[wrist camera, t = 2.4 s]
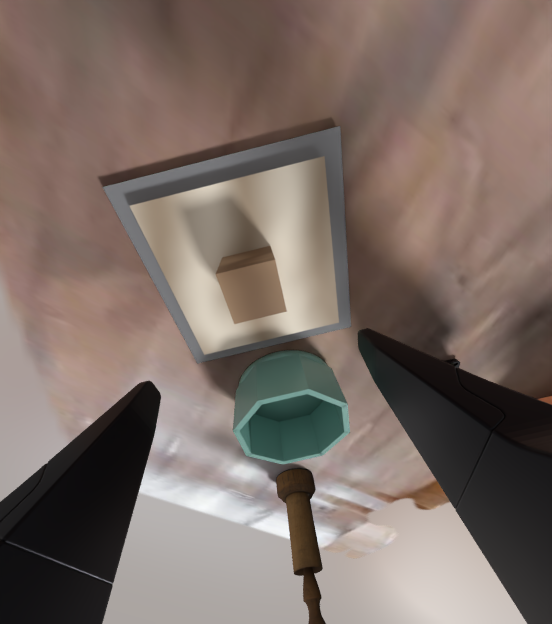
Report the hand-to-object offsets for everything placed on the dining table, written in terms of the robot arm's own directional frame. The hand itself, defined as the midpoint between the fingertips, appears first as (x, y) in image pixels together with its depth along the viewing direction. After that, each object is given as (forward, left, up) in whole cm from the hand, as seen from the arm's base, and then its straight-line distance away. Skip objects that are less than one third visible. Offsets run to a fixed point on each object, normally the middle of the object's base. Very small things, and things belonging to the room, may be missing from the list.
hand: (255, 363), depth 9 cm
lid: (0, 0, -12) cm, 12 cm away
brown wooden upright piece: (+3, +39, -12) cm, 41 cm away
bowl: (0, +16, -12) cm, 20 cm away
